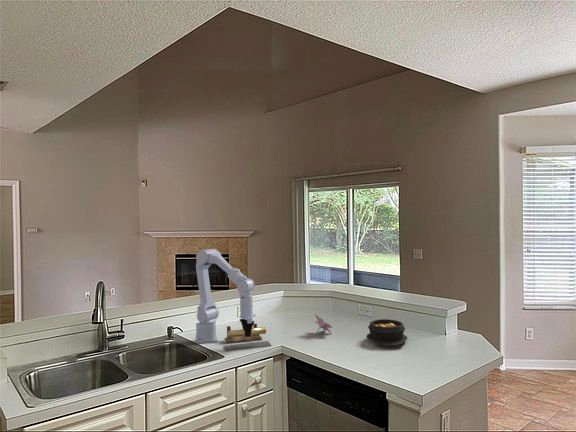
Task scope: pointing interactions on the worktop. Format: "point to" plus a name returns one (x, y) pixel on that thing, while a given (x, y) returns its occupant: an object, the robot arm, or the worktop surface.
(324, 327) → the lily
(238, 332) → the rail
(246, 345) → the mat
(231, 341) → the hook stand
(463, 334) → the worktop surface
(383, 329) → the casserole
